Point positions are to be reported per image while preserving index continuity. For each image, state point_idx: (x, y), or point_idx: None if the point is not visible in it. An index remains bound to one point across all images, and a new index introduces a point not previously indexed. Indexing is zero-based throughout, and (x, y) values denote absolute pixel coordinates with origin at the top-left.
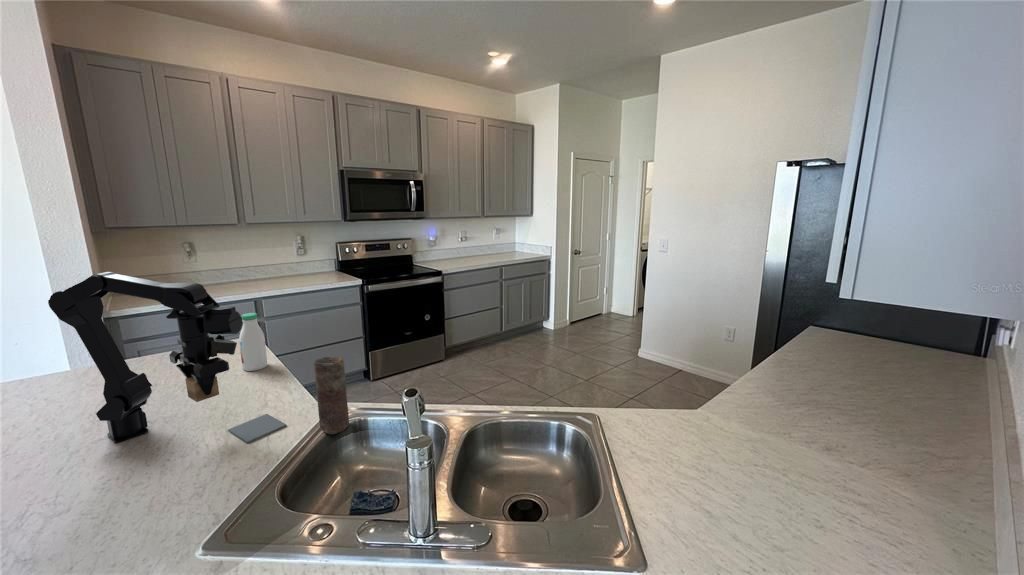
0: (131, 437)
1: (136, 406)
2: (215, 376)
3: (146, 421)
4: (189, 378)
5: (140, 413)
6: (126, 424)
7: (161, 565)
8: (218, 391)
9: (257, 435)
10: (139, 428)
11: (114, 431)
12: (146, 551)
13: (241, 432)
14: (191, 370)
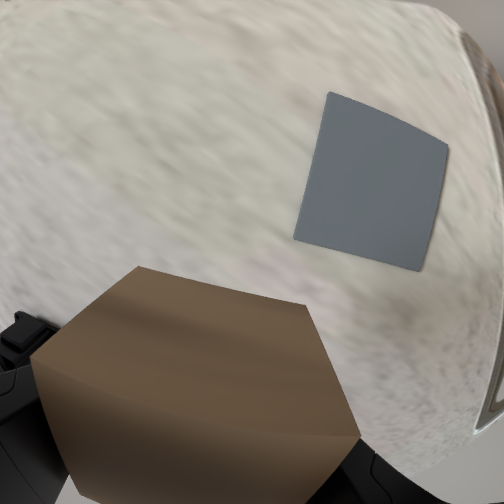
0: None
1: (2, 369)
2: (337, 442)
3: (36, 332)
4: (99, 496)
5: (23, 361)
6: None
7: (451, 454)
8: (311, 323)
9: (422, 231)
10: None
11: None
12: (427, 462)
13: (362, 237)
14: (21, 498)
